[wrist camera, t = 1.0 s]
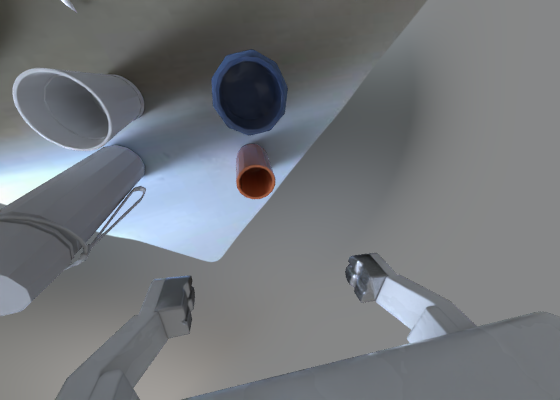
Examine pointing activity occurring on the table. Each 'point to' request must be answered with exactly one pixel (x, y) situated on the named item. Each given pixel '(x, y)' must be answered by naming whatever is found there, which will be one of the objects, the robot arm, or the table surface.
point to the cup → (76, 106)
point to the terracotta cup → (254, 172)
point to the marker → (69, 4)
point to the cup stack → (250, 94)
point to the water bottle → (61, 222)
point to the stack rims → (232, 57)
